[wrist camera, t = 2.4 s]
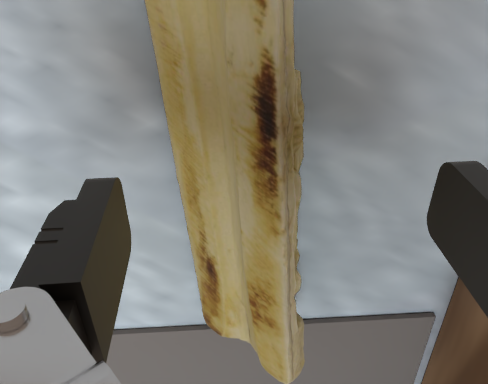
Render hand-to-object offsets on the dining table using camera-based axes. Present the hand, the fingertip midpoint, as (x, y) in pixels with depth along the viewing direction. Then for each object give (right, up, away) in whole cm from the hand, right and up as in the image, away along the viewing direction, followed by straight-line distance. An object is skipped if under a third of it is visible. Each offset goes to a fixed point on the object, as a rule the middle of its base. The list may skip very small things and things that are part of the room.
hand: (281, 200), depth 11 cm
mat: (-2, -10, +14) cm, 17 cm away
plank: (-2, +4, +6) cm, 7 cm away
